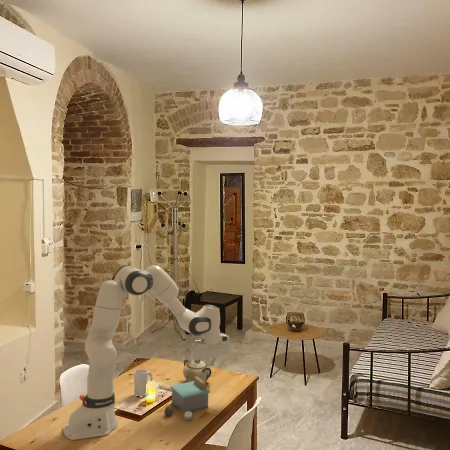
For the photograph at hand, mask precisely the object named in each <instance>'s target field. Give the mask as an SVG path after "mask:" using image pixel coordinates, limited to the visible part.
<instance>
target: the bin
mask: <svg viewBox="0 0 450 450" xmlns="http://www.w3.org/2000/svg"><path fill="white" fill-rule="evenodd" d="M171 403H172V404H173V405H174V406H175V407H176V409H178V411H180V412H181V413H182V414H183V415H184V413H185V412H186V411H191V412H192V413H193V412H195V411H200V410H203V409H208V408H209V393H207V394H203V395H198V396H194V397H189V398H185V399H182V398H181V397H180V396H179V395H178V394H177V393H176V392H175V391H173V390H172V389H171Z"/></svg>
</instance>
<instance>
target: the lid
mask: <svg viewBox="0 0 450 450" xmlns="http://www.w3.org/2000/svg"><path fill="white" fill-rule="evenodd" d="M207 384H208V383H206V382H204V381H203V380H201V379H200V378H199V377H197V376H196V377H194V381H192V382H188V381H187V382H181V383H178V384H177V383H176V384H173V385H170V389H171V391H172V390H173V391H175V392H176V393H177V394H178V395H179V396H180V397H181V398H182V399H185V398H189V397H194V396H198V395H203V394H207V393H208V394H210V393H211V391H210V390H209V389H208V388H207V386H208V385H207Z"/></svg>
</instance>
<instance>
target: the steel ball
mask: <svg viewBox="0 0 450 450" xmlns="http://www.w3.org/2000/svg"><path fill="white" fill-rule="evenodd" d="M193 416H194V415H193V411H192V412H191V411H186V412H185V413H184V414H183V418H184V419H185V421H190V420H192V419H193Z"/></svg>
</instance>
